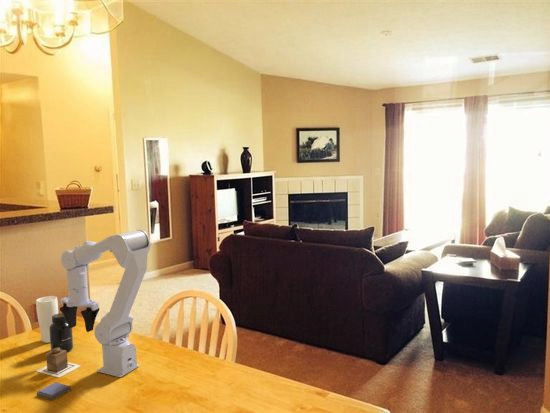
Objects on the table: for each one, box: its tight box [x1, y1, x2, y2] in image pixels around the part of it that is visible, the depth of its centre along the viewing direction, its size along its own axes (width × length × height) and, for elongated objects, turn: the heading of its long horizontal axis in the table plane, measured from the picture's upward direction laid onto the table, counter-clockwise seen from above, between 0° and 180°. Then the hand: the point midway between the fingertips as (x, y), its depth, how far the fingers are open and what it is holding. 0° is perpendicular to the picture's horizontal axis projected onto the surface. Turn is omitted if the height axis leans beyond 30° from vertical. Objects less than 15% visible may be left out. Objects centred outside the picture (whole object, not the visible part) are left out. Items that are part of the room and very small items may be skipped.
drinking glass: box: [35, 295, 59, 344], centre depth 162 cm, size 7×7×15 cm
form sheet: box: [35, 361, 82, 379], centre depth 141 cm, size 10×8×1 cm
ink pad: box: [36, 381, 72, 401], centre depth 127 cm, size 6×6×1 cm
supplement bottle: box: [49, 312, 74, 353], centre depth 154 cm, size 7×7×12 cm
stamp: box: [45, 348, 69, 373], centre depth 140 cm, size 4×4×6 cm
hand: (81, 328), depth 146 cm, fingers open, 7 cm apart
